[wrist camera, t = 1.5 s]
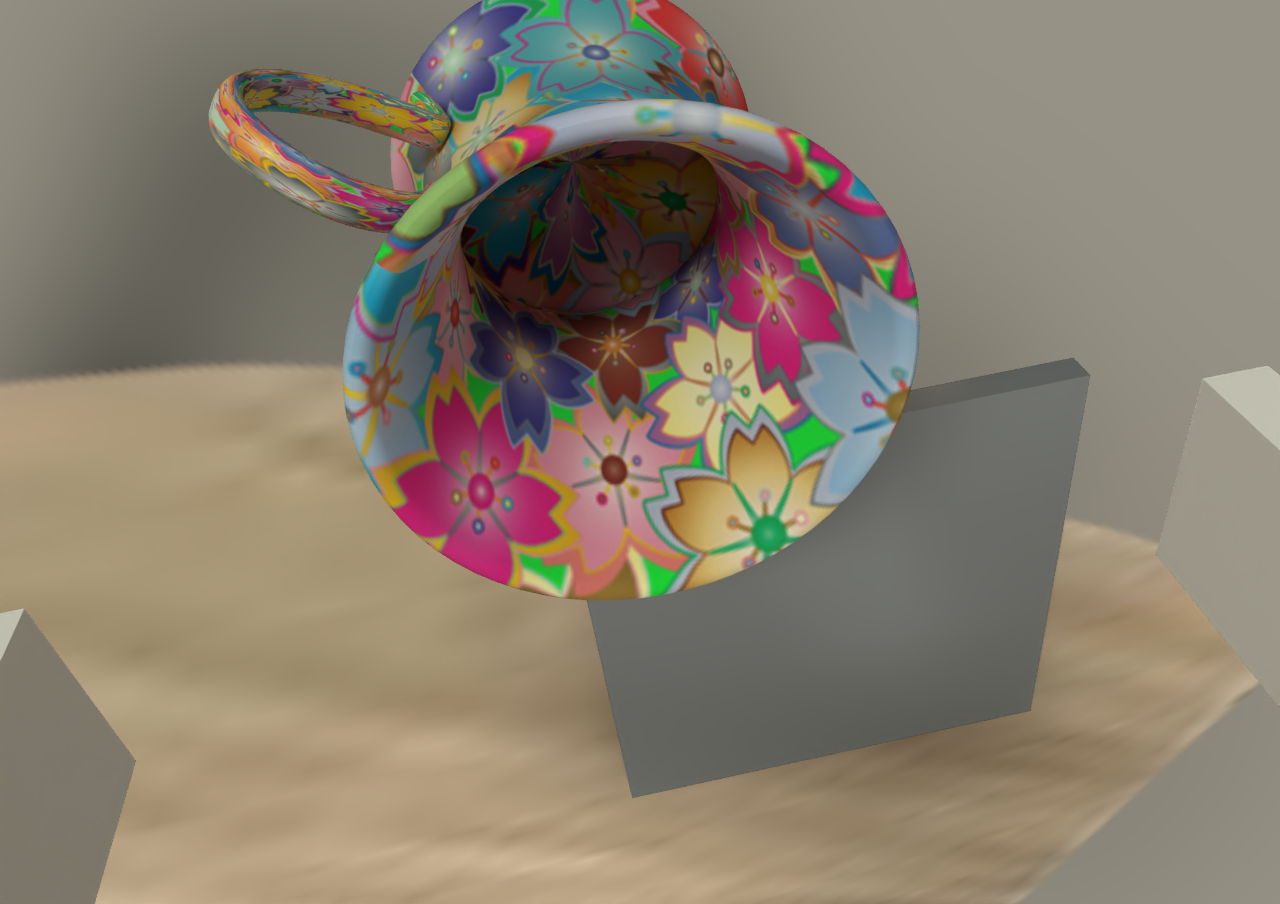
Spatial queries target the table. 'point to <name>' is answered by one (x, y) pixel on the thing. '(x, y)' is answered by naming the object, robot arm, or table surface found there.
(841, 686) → the slate board
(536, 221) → the mug
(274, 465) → the table surface
